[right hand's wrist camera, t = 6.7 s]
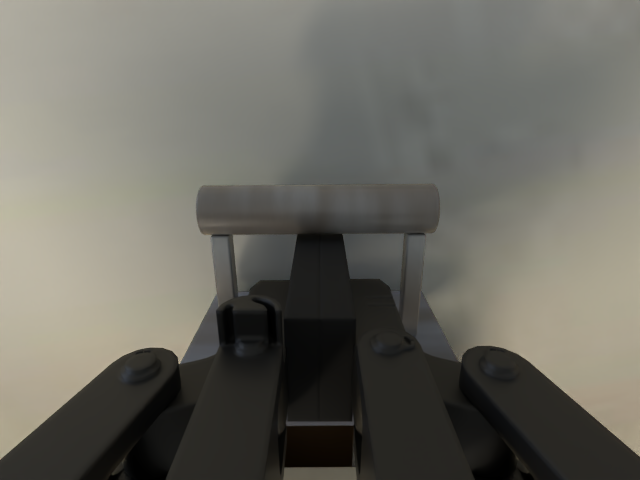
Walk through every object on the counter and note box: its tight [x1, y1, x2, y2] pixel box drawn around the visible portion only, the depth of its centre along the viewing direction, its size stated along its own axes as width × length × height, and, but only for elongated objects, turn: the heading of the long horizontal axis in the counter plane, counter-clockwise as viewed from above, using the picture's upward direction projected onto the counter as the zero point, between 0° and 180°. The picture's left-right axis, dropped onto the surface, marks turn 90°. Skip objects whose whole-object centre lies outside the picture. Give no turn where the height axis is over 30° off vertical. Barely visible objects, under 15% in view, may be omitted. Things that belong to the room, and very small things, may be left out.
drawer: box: [180, 184, 458, 467], centre depth 16 cm, size 25×9×6 cm, turn 0°
